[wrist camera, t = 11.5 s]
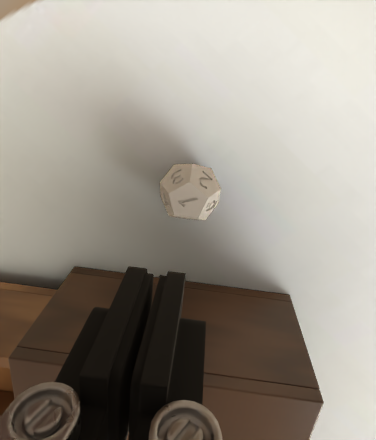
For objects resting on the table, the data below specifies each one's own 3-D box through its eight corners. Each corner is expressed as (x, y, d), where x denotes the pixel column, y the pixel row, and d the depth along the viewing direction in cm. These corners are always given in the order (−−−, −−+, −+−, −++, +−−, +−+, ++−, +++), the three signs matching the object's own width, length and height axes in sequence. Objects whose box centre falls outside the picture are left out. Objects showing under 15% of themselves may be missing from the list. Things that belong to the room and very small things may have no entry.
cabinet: (79, 396, 30) (31, 510, 22) (74, 266, 25) (7, 357, 17) (254, 421, 30) (268, 547, 22) (289, 294, 24) (324, 402, 16)
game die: (225, 205, 22) (226, 224, 19) (170, 215, 22) (163, 235, 20) (215, 151, 20) (214, 164, 18) (156, 163, 21) (147, 177, 18)
